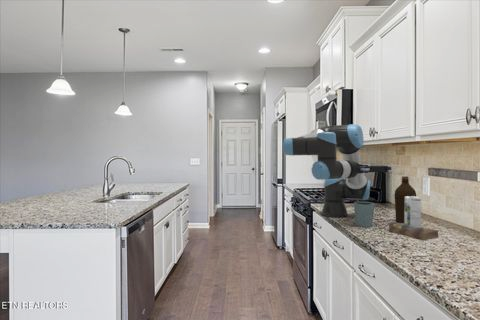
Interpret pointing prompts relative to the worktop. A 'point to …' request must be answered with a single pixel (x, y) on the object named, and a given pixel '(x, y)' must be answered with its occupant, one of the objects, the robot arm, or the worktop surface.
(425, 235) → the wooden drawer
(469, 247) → the worktop surface
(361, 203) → the grey-green tapered bin
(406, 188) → the olive oil
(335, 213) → the robot arm
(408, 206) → the syrup box
